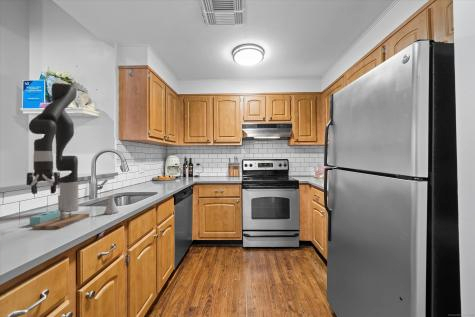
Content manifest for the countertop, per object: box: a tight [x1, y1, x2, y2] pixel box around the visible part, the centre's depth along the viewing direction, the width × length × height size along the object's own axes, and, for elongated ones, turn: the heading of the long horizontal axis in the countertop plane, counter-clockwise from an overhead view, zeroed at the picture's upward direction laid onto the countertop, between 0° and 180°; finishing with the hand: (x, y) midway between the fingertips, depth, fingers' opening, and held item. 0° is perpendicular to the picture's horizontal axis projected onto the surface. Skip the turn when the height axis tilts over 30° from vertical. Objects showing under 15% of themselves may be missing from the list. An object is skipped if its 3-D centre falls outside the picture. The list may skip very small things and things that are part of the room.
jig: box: [32, 211, 90, 230], centre depth 121 cm, size 12×22×5 cm, turn 0°
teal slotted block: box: [29, 210, 61, 227], centre depth 123 cm, size 5×13×4 cm, turn 0°
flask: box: [103, 194, 119, 215], centre depth 140 cm, size 7×7×10 cm
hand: (43, 193), depth 119 cm, fingers open, 8 cm apart
